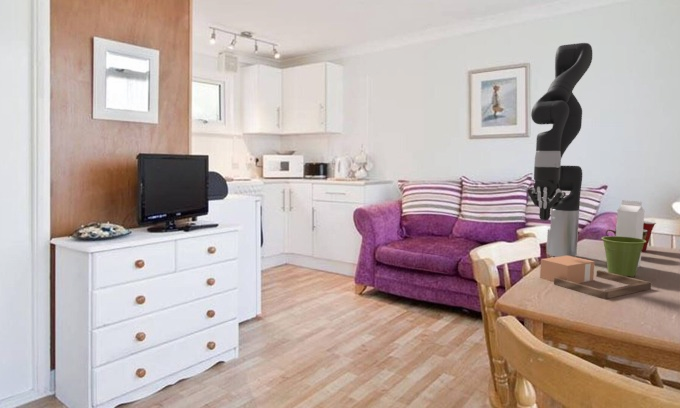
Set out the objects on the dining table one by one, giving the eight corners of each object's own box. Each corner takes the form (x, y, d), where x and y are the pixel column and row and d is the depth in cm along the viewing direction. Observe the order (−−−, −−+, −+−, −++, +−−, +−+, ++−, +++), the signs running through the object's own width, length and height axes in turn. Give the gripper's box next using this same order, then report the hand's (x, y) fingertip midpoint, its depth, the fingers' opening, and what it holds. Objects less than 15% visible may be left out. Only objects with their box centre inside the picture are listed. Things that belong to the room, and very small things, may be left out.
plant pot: (637, 271, 146) (639, 237, 145) (648, 281, 135) (651, 243, 134) (595, 268, 150) (597, 234, 149) (603, 277, 139) (606, 241, 137)
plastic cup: (661, 252, 176) (663, 221, 174) (639, 253, 173) (641, 222, 171) (635, 246, 186) (637, 217, 185) (614, 248, 183) (616, 218, 182)
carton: (539, 278, 138) (540, 259, 138) (565, 274, 144) (567, 255, 143) (566, 286, 130) (568, 265, 130) (593, 281, 136) (594, 261, 135)
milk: (633, 269, 149) (638, 202, 147) (613, 265, 154) (617, 200, 152) (640, 266, 153) (645, 201, 150) (620, 262, 158) (625, 199, 155)
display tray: (553, 284, 131) (554, 278, 131) (598, 275, 141) (599, 270, 140) (604, 299, 118) (605, 292, 118) (650, 288, 127) (651, 282, 127)
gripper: (521, 165, 148) (519, 218, 149) (557, 166, 136) (554, 223, 138) (538, 165, 151) (535, 216, 153) (574, 166, 139) (571, 222, 141)
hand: (544, 220), depth 145 cm, fingers closed
